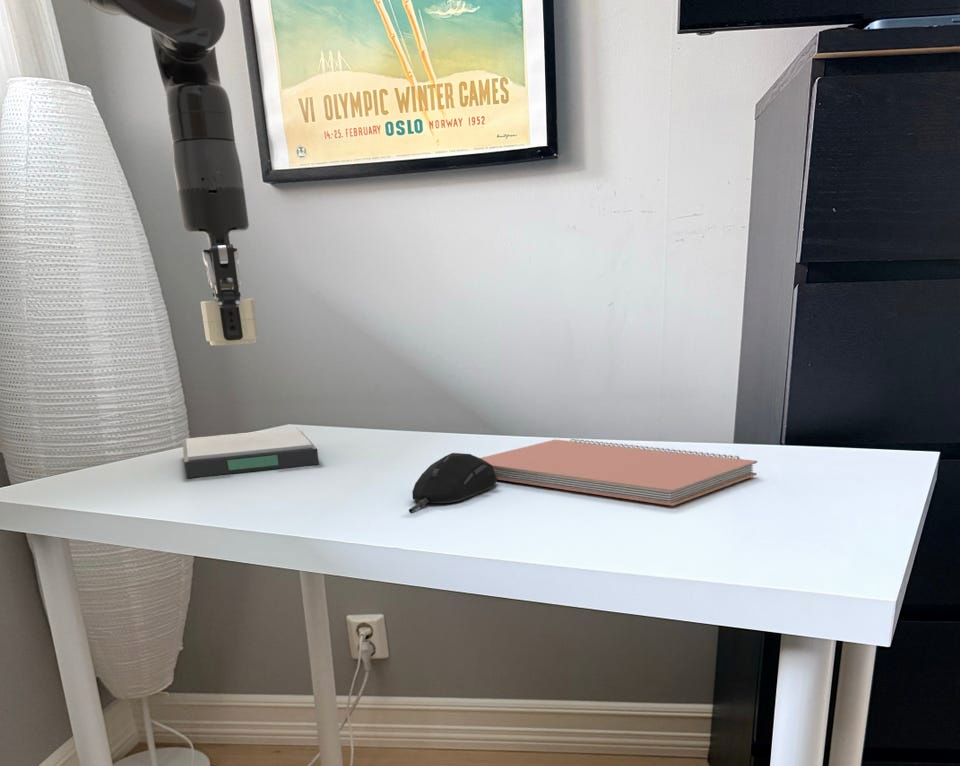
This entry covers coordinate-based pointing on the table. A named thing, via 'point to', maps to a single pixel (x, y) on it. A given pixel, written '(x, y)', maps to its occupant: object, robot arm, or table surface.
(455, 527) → the table surface
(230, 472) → the scale
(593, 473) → the notebook
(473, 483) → the gaming mouse
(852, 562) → the table surface
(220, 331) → the container
